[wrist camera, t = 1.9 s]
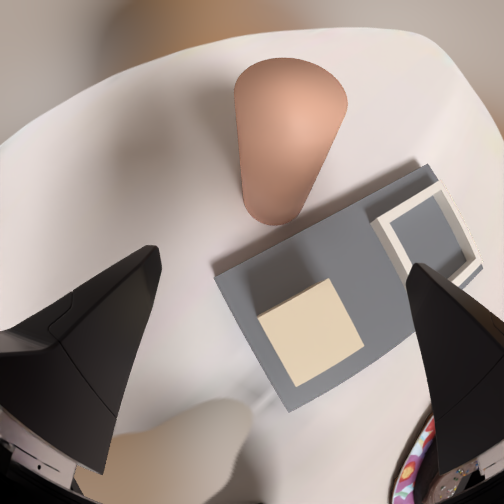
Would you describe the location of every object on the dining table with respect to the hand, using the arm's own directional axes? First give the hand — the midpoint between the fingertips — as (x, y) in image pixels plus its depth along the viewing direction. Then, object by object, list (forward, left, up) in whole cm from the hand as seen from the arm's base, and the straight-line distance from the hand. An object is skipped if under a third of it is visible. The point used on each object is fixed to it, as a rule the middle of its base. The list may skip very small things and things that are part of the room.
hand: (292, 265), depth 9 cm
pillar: (+7, -4, -13) cm, 16 cm away
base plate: (-3, -8, -13) cm, 16 cm away
